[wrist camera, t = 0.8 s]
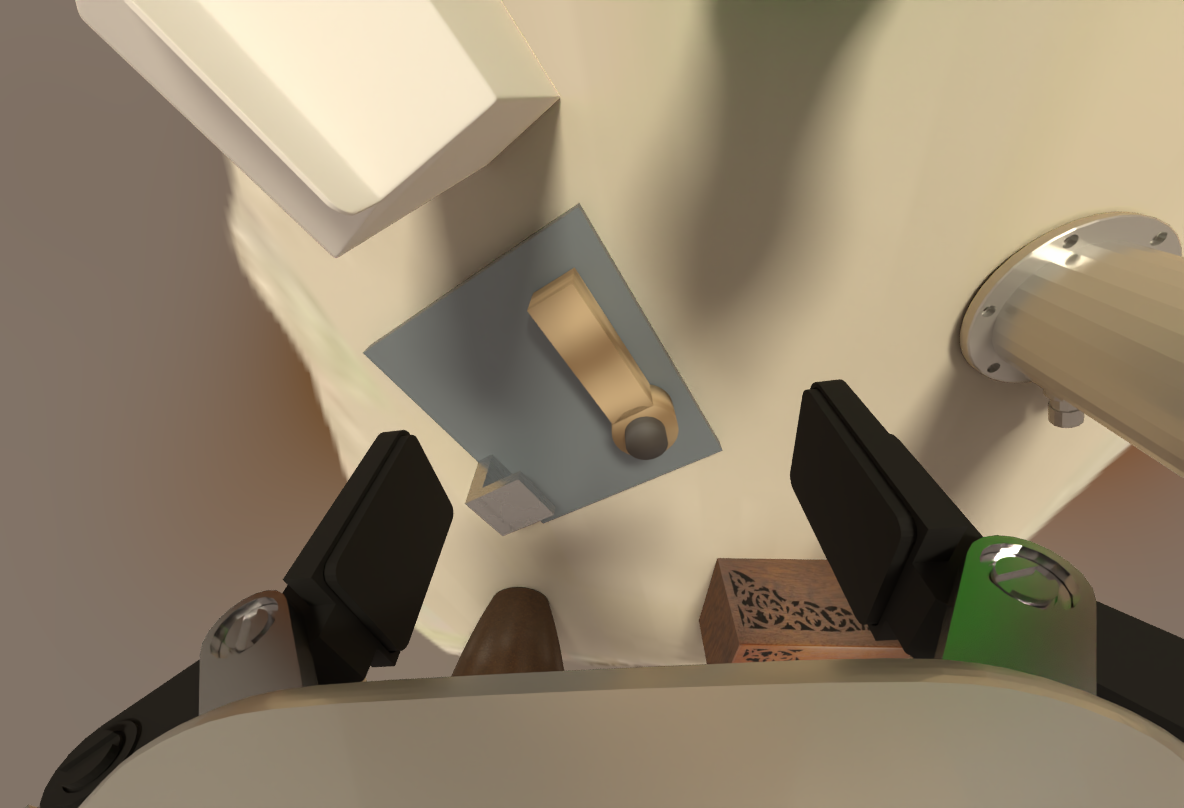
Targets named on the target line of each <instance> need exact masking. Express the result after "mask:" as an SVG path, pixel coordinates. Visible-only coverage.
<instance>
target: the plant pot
mask: <svg viewBox="0 0 1184 808" xmlns="http://www.w3.org/2000/svg"><path fill="white" fill-rule="evenodd" d="M552 671H564V667H563V662H562V656H561V650H560V645H559V640H558V636H557V632H556V627H555V623H554V620H553V616H552V612H551V609H550V606H549V602H548V600H547V598H546V597H545V596H544V595H543V594H541V593H540V592H538V591H535V590H532V589H529V588H520V587H519V588H508V589H504V590H502V591H500V592H498V593H497V594H496V595H495V596H494V597H493V599H492V600H491V602H490V603H489V605H488V607H487V608H486V610H485V612H484V613H483V615H482V616H481V618H480V620H479V622H478V624H477V625H476V627H475V629H474V631H473V633H472V634H471V636H470V638H469V640H468V642H467V644H466V646H465V648H464V650H463V652H462V654H461V656H460V658H459V661H458V663H457V665H456V667H455V669H454V671H453V674H452V676H451V677H455V676H474V675H493V674H512V673H532V672H552Z"/></svg>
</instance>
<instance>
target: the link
mask: <svg viewBox="0 0 1184 808" xmlns="http://www.w3.org/2000/svg"><path fill="white" fill-rule="evenodd" d="M527 311H528V313H529V314H530V315H531V317H532V318H533V319H534V321H535V322H536V323H537V325H538V326H539V327H540V329H541V330H542V331H543V333H544V334H545V335H546V337H547V338H548V339H549V341H550V342H551V343H552V345H553V346H554V347H555V349H556V350H557V351H558V352H559V354H560V355H561V356H562V358H563V359H564V360H565V362H566V363H567V364H568V366H569V367H570V368H571V370H572V371H573V372H574V374H575V375H576V376H577V378H578V379H579V380H580V382H581V383H582V384H583V386H584V387H585V388H586V390H587V391H588V392H589V394H590V395H591V396H592V398H593V399H594V400H595V402H596V403H597V404H598V406H599V407H600V408H601V410H602V411H603V412H604V413H605V415H606V416H607V417H608V419H609V420H610V421H611V423H612V438H613V441H614V443H615V444H616V446H617V447H618V448H619V449H620V450H621V451H623V452H625V453H627V454H629V455H631V456H633V457H634V458H637V459H640V460H651V459H654V458H657V457H659V456H661V455H662V454H663V453H664V452H665V451H666V450H667V449H669V448H670V447H671V446H672V445H673V444H674V442H675V441H676V439H677V436H678V431H679V428H678V423H677V419H676V415H675V410H674V406H673V402H672V399H671V397H670V396H669V394H668V393H667V392H666V391H665V390H663V389H662V388H660V387H658V386H655V385H651V384H650V383H649V382H648V380H647V379H646V377H645V376H644V374H643V373H642V371H641V370H640V368H639V366H638V365H637V363H636V362H635V360H634V359H633V357H632V356H631V354H630V352H629V351H628V349H627V348H626V346H625V345H624V343H623V342H622V340H621V339H620V337H619V335H618V334H617V332H616V331H615V329H614V328H613V326H612V325H611V323H610V321H609V320H608V318H607V317H606V315H605V314H604V312H603V311H602V309H601V307H600V306H599V304H598V303H597V301H596V300H595V298H594V297H593V295H592V294H591V292H590V290H589V289H588V287H587V286H586V284H585V283H584V281H583V280H582V278H581V276H580V275H579V273H578V272H577V270H576V269H575V267H574V268H573V269H571V270H569V271H568V272H566V273H565V274H563V275H561V276H560V277H558V278H557V279H555V280H553V281H552V282H550V283H549V284H547V285H545V286H544V287H542V288H541V289H539V290H538V291H536V292H534V293H533V295H532V298H531V301H530V304H529V307H528V310H527Z"/></svg>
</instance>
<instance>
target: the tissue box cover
mask: <svg viewBox="0 0 1184 808" xmlns="http://www.w3.org/2000/svg"><path fill="white" fill-rule="evenodd" d="M699 624H700V629H701V634H702V640H703V645H704V650H705V656H706V661H707V664H725V663H748V662H771V661H794V660H832V659H870V658H909V656H910V655H908V654H906V653H905V652H904V650H903V648H902V646H901V644H900V643H899V641H898V640H885V641H875V639H874V637H873V635H872V633H871V631H870V629H869V627H868V625H862V624H860V623H859V622H858V620H857V619H856V617H855V616H854V614H853V612H852V609H851V607H850V605H849V603H848V601H847V599H846V597H845V595H844V593H843V591H842V589H841V587H840V585H839V583H838V581H837V579H836V576H835V574H834V572H833V570H832V568H831V566H830V564H829V562H828V560H798V559H732V558H718V559H717V562H716V565H715V569H714V572H713V575H712V579H711V582H710V585H709V589H708V592H707V595H706V599H705V602H704V605H703V609H702V612H701V615H700V619H699Z"/></svg>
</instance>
